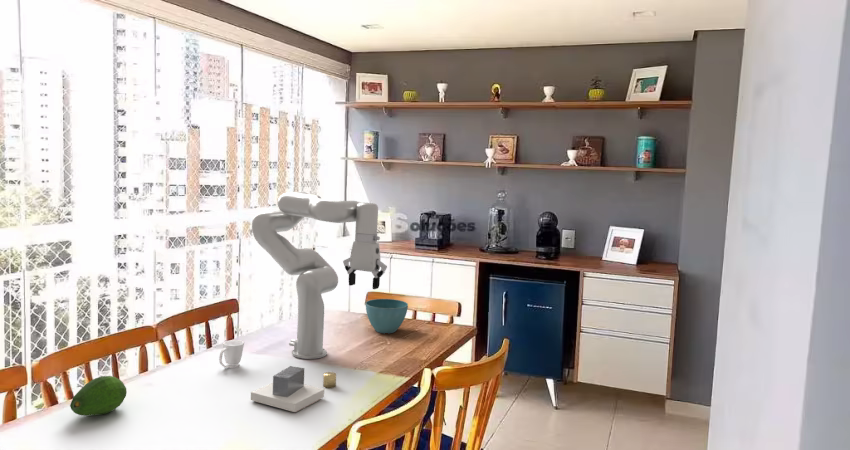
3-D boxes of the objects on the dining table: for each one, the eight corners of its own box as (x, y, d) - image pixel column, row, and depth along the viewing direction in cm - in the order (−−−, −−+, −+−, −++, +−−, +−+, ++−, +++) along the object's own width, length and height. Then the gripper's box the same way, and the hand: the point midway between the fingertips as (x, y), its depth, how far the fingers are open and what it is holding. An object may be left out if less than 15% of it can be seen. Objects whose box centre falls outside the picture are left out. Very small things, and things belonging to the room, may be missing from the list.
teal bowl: (405, 338, 258) (407, 309, 257) (362, 335, 258) (363, 306, 257) (407, 327, 276) (408, 300, 275) (366, 324, 276) (368, 297, 275)
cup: (248, 364, 213) (248, 341, 213) (228, 372, 204) (228, 349, 203) (231, 361, 216) (232, 338, 215) (211, 369, 207) (212, 345, 206)
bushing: (320, 386, 196) (321, 374, 196) (327, 383, 200) (328, 371, 199) (331, 389, 194) (331, 376, 194) (338, 385, 198) (338, 373, 198)
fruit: (85, 428, 157) (85, 390, 156) (59, 420, 161) (59, 383, 160) (134, 408, 171) (135, 373, 170) (109, 401, 175) (109, 367, 174)
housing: (289, 383, 189) (290, 366, 188) (303, 386, 187) (304, 368, 187) (272, 394, 179) (273, 375, 178) (287, 397, 178) (288, 378, 177)
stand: (250, 402, 180) (250, 392, 180) (281, 388, 193) (282, 378, 193) (294, 414, 173) (295, 403, 173) (323, 398, 186) (324, 389, 186)
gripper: (392, 240, 215) (390, 288, 216) (350, 235, 222) (348, 282, 224) (382, 241, 208) (379, 291, 209) (339, 236, 215) (337, 285, 217)
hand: (363, 286), depth 216 cm, fingers open, 9 cm apart
